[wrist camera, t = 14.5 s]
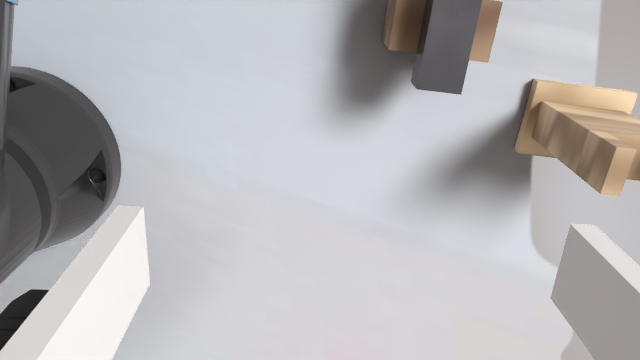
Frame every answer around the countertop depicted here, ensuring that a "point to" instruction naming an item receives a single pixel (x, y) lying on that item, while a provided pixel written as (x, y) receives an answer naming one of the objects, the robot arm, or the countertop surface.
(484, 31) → the block
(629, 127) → the hook stand
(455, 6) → the rail
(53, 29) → the countertop surface
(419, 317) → the countertop surface
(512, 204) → the countertop surface
